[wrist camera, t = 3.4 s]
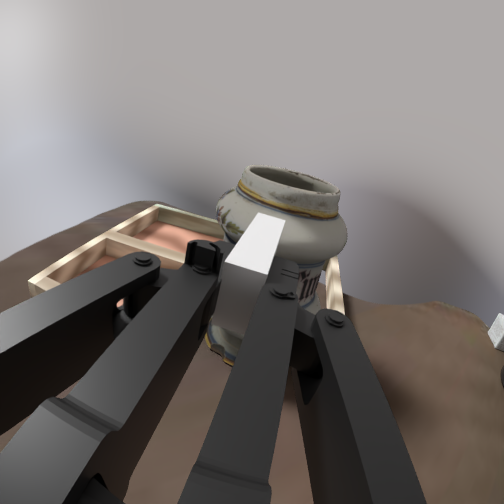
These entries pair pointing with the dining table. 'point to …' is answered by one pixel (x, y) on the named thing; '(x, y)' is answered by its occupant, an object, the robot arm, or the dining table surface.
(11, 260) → the dining table surface
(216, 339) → the apothecary jar
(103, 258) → the trap box
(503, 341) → the small box
